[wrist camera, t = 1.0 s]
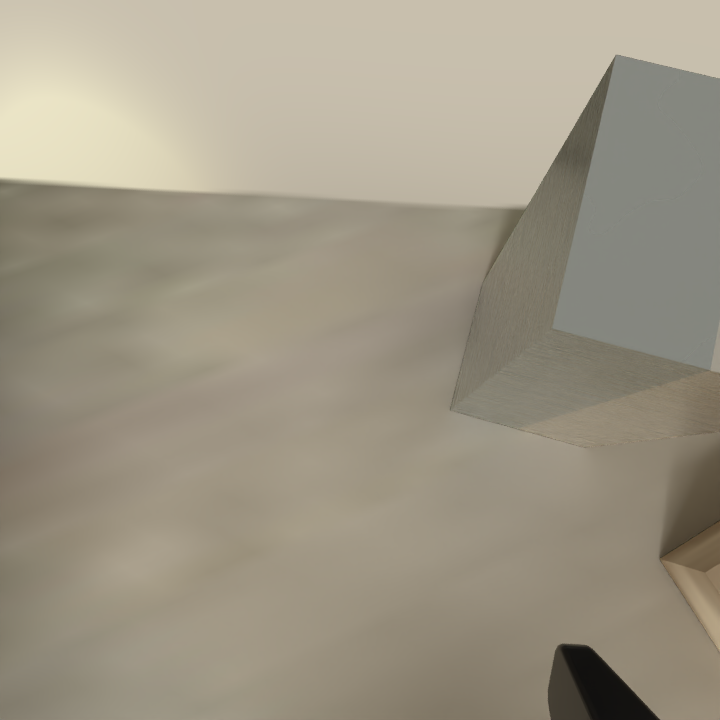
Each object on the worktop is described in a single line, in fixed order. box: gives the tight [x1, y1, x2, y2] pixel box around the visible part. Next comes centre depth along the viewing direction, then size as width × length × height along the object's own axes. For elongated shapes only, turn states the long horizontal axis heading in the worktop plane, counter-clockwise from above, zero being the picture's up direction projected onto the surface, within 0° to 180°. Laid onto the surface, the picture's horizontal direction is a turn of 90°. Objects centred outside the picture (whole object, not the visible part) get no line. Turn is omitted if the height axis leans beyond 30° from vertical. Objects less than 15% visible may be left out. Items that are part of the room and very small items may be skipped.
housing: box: [450, 55, 720, 448], centre depth 16 cm, size 5×5×13 cm
